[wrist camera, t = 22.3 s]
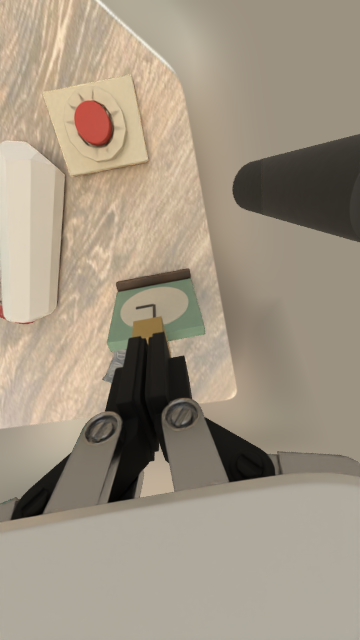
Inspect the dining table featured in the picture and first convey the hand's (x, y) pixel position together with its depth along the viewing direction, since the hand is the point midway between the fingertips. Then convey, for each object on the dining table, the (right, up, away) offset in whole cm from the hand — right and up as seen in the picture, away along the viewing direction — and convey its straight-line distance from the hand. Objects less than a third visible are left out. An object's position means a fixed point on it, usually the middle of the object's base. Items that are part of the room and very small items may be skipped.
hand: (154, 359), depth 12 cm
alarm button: (-8, +24, +16) cm, 29 cm away
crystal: (-20, +14, +24) cm, 34 cm away
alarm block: (-8, +25, +19) cm, 33 cm away
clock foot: (-3, +9, +28) cm, 30 cm away
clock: (-2, +1, +21) cm, 21 cm away
